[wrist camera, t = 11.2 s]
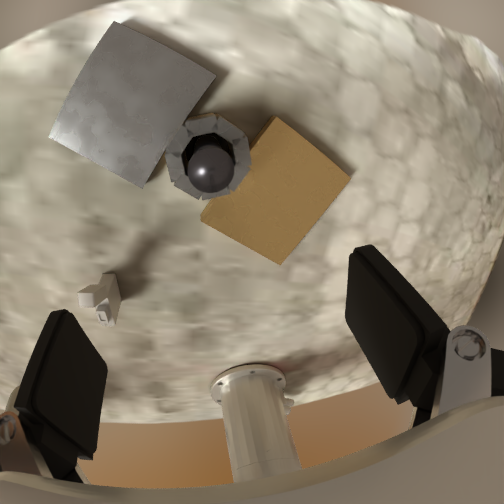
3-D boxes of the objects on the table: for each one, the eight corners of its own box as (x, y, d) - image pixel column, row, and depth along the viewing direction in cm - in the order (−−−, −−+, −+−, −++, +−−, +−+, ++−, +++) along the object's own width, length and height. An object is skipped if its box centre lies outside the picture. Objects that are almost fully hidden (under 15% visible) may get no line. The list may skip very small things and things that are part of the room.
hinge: (344, 174, 29) (368, 189, 25) (276, 258, 33) (288, 284, 29) (118, 24, 18) (102, 11, 13) (55, 134, 21) (30, 144, 17)
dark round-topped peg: (229, 143, 26) (243, 164, 18) (211, 169, 27) (217, 201, 19) (202, 126, 24) (204, 139, 17) (184, 152, 25) (178, 178, 18)
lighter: (121, 301, 32) (109, 351, 26) (108, 301, 32) (94, 350, 25) (111, 250, 29) (91, 297, 22) (97, 250, 29) (74, 296, 22)
